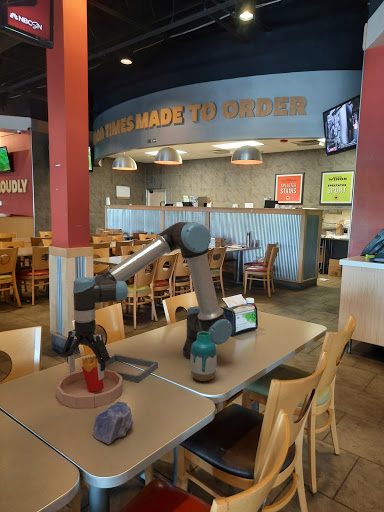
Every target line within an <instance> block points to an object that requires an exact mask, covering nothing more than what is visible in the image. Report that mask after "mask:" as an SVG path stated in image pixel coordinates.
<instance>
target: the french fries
mask: <svg viewBox="0 0 384 512" xmlns="http://www.w3.org/2000/svg"><path fill="white" fill-rule="evenodd" d="M98 362H99V360H98V359H97V357H96V356H95V355H92V356H90V357H89V356H88V357H84V358H82V359H81V365H82V366H81V371H83V374H84V378H85V381H86V385H87V389H88V391H100V390H102V389H104V385H103V378H102V379H101V380H99V377H98Z"/></svg>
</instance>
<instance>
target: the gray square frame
mask: <svg viewBox="0 0 384 512" xmlns="http://www.w3.org/2000/svg"><path fill="white" fill-rule="evenodd" d="M114 362H123V363H127V364H131V365H136V366H137V365H138V366H141V367H146V368H145V370H143V371H141V372H140V373H139V374H138V375H137V374H132V373H128V372H124V371H118V370H114V369H110V368H109V369H108V368H107V367H108V366H110V365H111V364H113V363H114ZM109 364H110V365H109ZM105 368H106V370H110V371H115V372H117V373H118V374H119V375H120V376H122V380H123V381H124V380H125V381H127V382H132V383H137V384H139V383H140V382H141V381H143V380H144V379H145V378H147V377H148V376H149V375H150V374H152V373H153V372H154V371H156V370H157V369H158V368H159V363H158V361H152V360H148V359H143V358H142V359H141V358H138V357H137V358H136V357H132V356H126V355H121V354H116V353H115V354H113V355H111V356H110V360H108V361H107V362H105Z"/></svg>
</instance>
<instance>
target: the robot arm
mask: <svg viewBox="0 0 384 512" xmlns="http://www.w3.org/2000/svg"><path fill="white" fill-rule="evenodd" d="M211 240H212V237H211V233H210V231H209V229H208V228H207V226H205V225H204V224H202V223H198V222H194V221H193V222H192V221H191V222H190V221H189V222H188V221H179V222H176V223H174V224H172V225H170V226H169V227H167V228H165V229H164V230H163V231H161V232H160V233H159V234H156V236H155V239H153V240H152V241H150V242H149V243H148V244H146V245H144V246H143V247H141V248H140V249H138V250H137V251H136V252H134V253H132V254H130V255H129V256H128V257H126V258H125V259H124V260H122V261H121V262H119V263H118V264H116V265H115V266H113V267H112V268H111V269H108V270H106V272H104V273H103V274H96V275H95V276H94V277H90V276H89V277H85V276H84V277H82V276H81V277H77V278H75V279H74V280H73V289H72V292H73V320H74V322H73V323H74V326H73V328H74V329H71V330H69V331H68V332H67V333H68V334H67V338H66V340H65V344H64V346H63V349H62V350H61V351H62V352H61V353H62V354H64V355H65V356H66V363H67V364H68V366H67V367H68V375H70V374H71V373H75V372H76V359H75V358H76V357H75V354H74V353H75V351H76V350H77V348H79V346H80V345H81V346H87V347H88V348H90V350H91V351H92V352H93V354H94V356H96V357H97V359H98V360H99V362H98V377H99V380H101V379H102V378H104V370H105V369H107V367H105V362H107V361H108V360H110V357H111V356H110V354H109V352H108V349H107V347H106V345H105V342H104V338H103V334H102V333H100V334H96V333H95V332H96V329H97V327H96V325H97V324H96V320H95V319H96V304H100V303H110V302H119V301H120V302H121V301H124V300H126V299H127V297H128V294H129V293H128V292H129V291H128V285H127V283H126V281H127V280H129V279H130V278H132V277H133V276H135V275H136V274H138V273H139V272H141V271H142V270H144V269H145V268H146V267H147V266H149V265H150V264H151V265H152V264H153V262H155V261H157V260H158V259H159V258H161V257H163V256H164V255H165V254H167V255H169V254H171V253H173V252H174V251H177V250H180V255H181V258H182V259H184V260H185V261H186V263H187V267H188V270H189V274H190V279H191V283H192V286H193V290H194V294H195V297H196V302H197V305H196V306H191V307H188V308H187V309H186V338H185V342H184V344H183V348H182V356H183V357H184V358H187V359H189V360H190V356H191V346H192V344H193V343H194V342H195V341H196V340H197V333H198V332H202V331H205V332H209V333H210V334H211V341H212V342H213V343H214V344H215V345H216V346H218V345H222V344H225V343H226V342H227V341H228V340H230V337H231V336H232V332H233V325H232V323H231V321H230V320H228V319H227V318H226V315H225V311H224V308H222V307H220V306H219V301H218V297H217V293H216V289H215V285H214V284H215V283H214V281H213V276H212V272H211V269H210V265H209V260H208V259H209V258H208V257H207V256H208V255H209V253H210V249H209V248H210V244H211V243H212V241H211ZM75 338H76V339H75Z"/></svg>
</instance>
